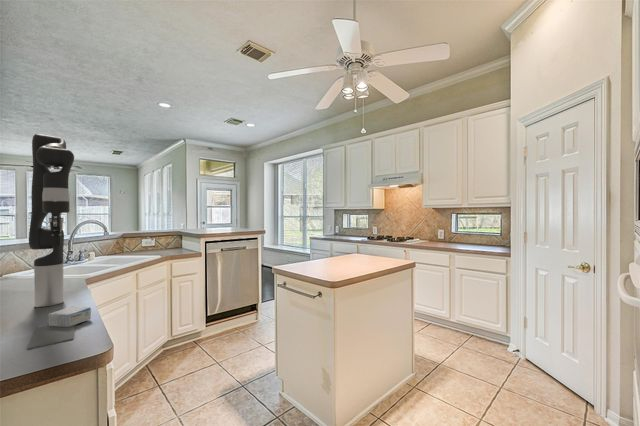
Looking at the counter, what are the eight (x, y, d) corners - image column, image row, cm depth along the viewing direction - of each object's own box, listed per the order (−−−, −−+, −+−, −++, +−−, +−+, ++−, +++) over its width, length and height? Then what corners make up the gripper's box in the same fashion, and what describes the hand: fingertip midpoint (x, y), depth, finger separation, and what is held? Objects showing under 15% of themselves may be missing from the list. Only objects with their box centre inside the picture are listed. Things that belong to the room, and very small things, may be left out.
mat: (36, 328, 96) (36, 327, 96) (75, 321, 102) (75, 320, 102) (26, 349, 80) (26, 348, 80) (73, 339, 87) (73, 338, 87)
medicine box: (47, 326, 97) (68, 327, 95) (47, 313, 97) (68, 314, 95) (72, 317, 104) (91, 319, 103) (72, 305, 104) (91, 307, 103)
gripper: (44, 201, 110) (45, 245, 110) (40, 199, 100) (40, 248, 100) (70, 201, 115) (70, 243, 115) (68, 199, 105) (68, 246, 105)
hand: (56, 245), depth 107 cm, fingers closed
